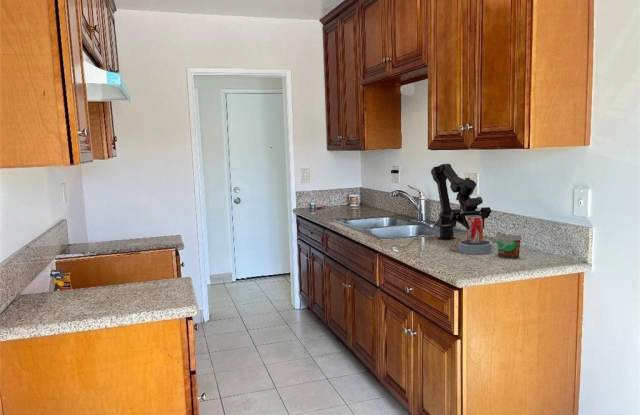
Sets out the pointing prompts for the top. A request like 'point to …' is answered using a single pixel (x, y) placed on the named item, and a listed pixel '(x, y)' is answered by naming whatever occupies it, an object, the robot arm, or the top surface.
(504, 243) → the food container
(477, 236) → the soda can
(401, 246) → the top surface
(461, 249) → the bowl
